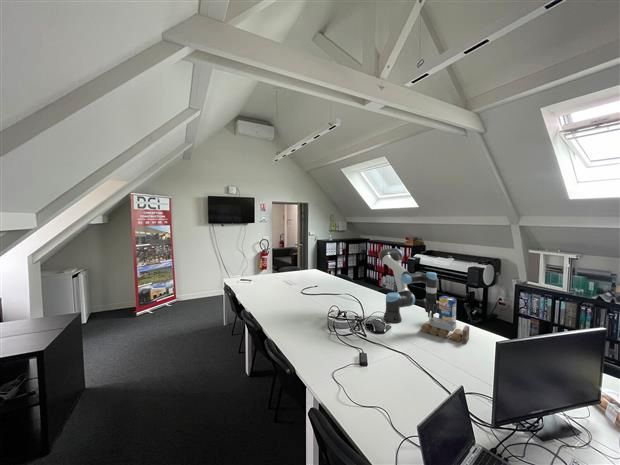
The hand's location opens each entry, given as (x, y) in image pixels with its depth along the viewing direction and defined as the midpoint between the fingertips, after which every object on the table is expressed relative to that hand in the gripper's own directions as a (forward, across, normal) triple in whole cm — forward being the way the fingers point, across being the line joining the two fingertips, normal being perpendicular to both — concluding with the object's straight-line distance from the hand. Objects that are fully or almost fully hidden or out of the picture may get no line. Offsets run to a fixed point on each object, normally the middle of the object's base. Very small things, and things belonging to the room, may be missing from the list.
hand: (430, 321), depth 198 cm
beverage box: (+8, +5, +26) cm, 28 cm away
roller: (+4, +16, 0) cm, 16 cm away
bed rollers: (+8, +4, 0) cm, 9 cm away
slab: (+2, +9, 0) cm, 9 cm away
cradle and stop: (+8, +18, 0) cm, 19 cm away
